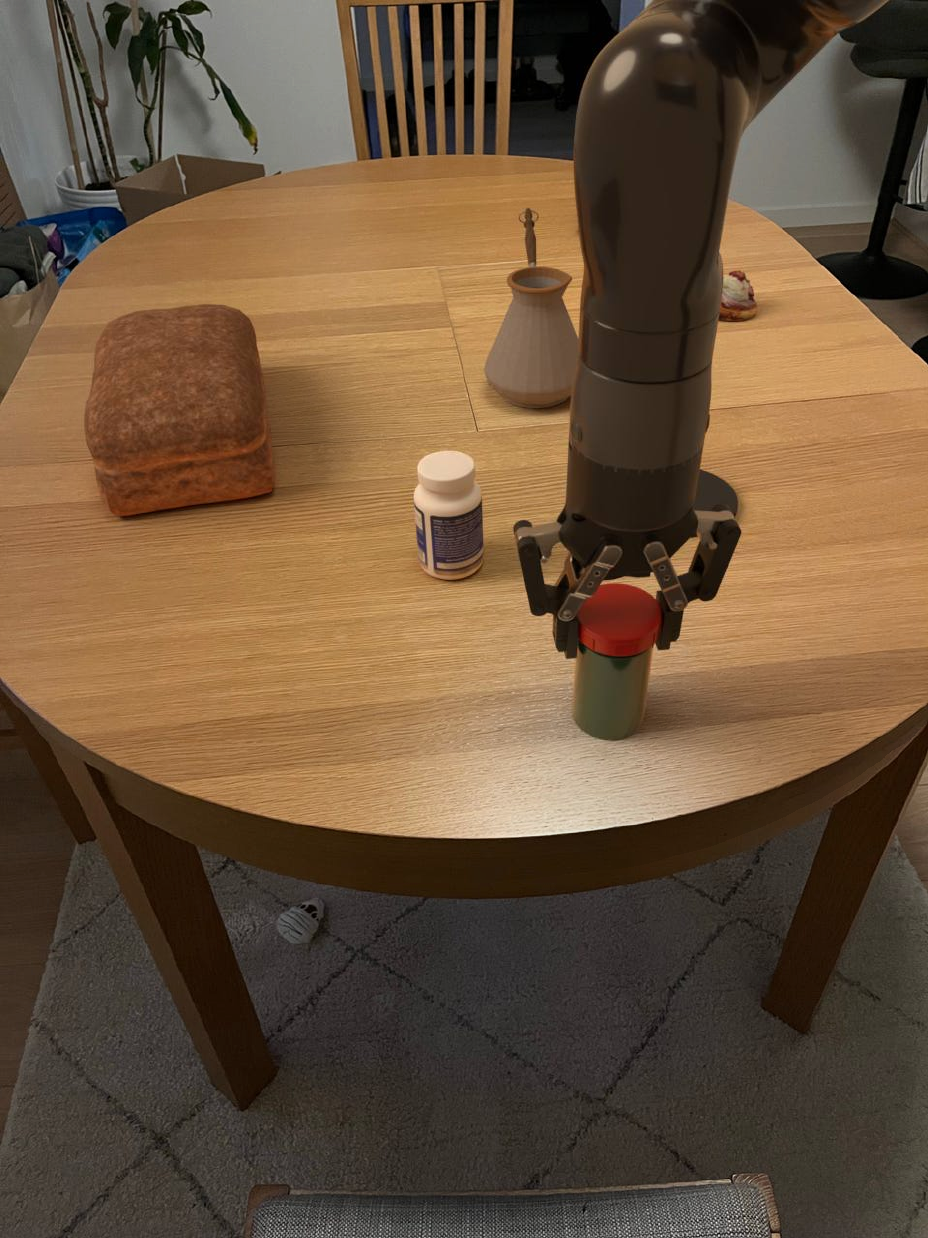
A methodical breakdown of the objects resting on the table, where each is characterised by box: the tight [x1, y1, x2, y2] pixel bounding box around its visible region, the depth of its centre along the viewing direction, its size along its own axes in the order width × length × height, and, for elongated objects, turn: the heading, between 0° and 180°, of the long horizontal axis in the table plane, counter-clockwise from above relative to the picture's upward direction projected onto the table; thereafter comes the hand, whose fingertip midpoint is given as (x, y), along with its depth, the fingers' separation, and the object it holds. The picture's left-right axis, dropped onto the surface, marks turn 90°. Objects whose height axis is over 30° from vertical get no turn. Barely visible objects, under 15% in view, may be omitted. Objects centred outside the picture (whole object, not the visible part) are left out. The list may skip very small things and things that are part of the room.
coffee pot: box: [483, 207, 579, 409], centre depth 103 cm, size 21×12×15 cm, turn 1°
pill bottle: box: [413, 450, 485, 581], centre depth 78 cm, size 6×6×10 cm
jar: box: [571, 638, 655, 741], centre depth 65 cm, size 5×5×9 cm
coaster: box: [691, 468, 739, 538], centre depth 87 cm, size 11×11×1 cm
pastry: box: [718, 269, 758, 322], centre depth 117 cm, size 8×8×5 cm
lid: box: [578, 582, 662, 656], centre depth 62 cm, size 6×6×2 cm
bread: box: [83, 303, 275, 518], centre depth 95 cm, size 17×29×11 cm, turn 12°
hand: (614, 645), depth 63 cm, fingers closed on lid, 5 cm apart
